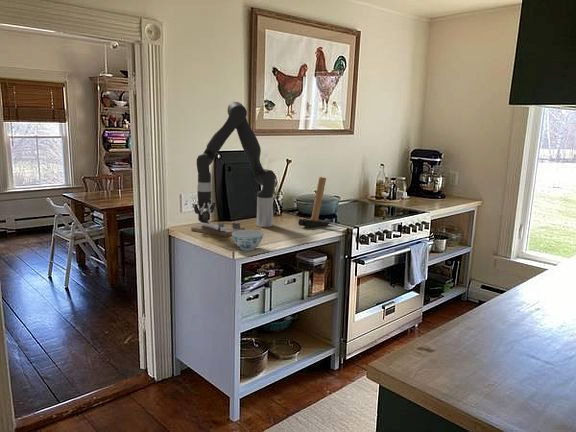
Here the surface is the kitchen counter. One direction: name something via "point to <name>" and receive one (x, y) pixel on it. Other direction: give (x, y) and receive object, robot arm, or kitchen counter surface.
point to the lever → (211, 225)
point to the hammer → (316, 208)
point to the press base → (227, 232)
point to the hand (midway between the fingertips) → (204, 220)
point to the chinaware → (247, 238)
